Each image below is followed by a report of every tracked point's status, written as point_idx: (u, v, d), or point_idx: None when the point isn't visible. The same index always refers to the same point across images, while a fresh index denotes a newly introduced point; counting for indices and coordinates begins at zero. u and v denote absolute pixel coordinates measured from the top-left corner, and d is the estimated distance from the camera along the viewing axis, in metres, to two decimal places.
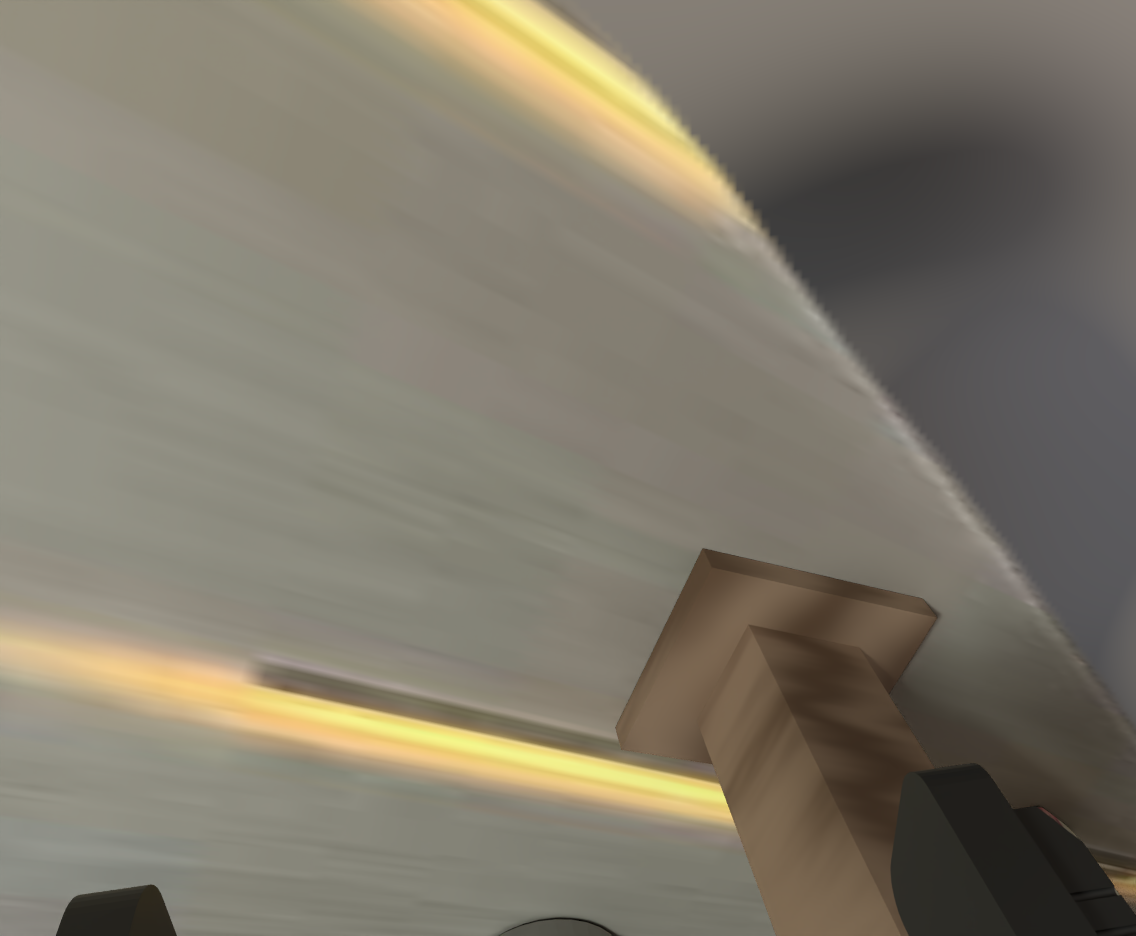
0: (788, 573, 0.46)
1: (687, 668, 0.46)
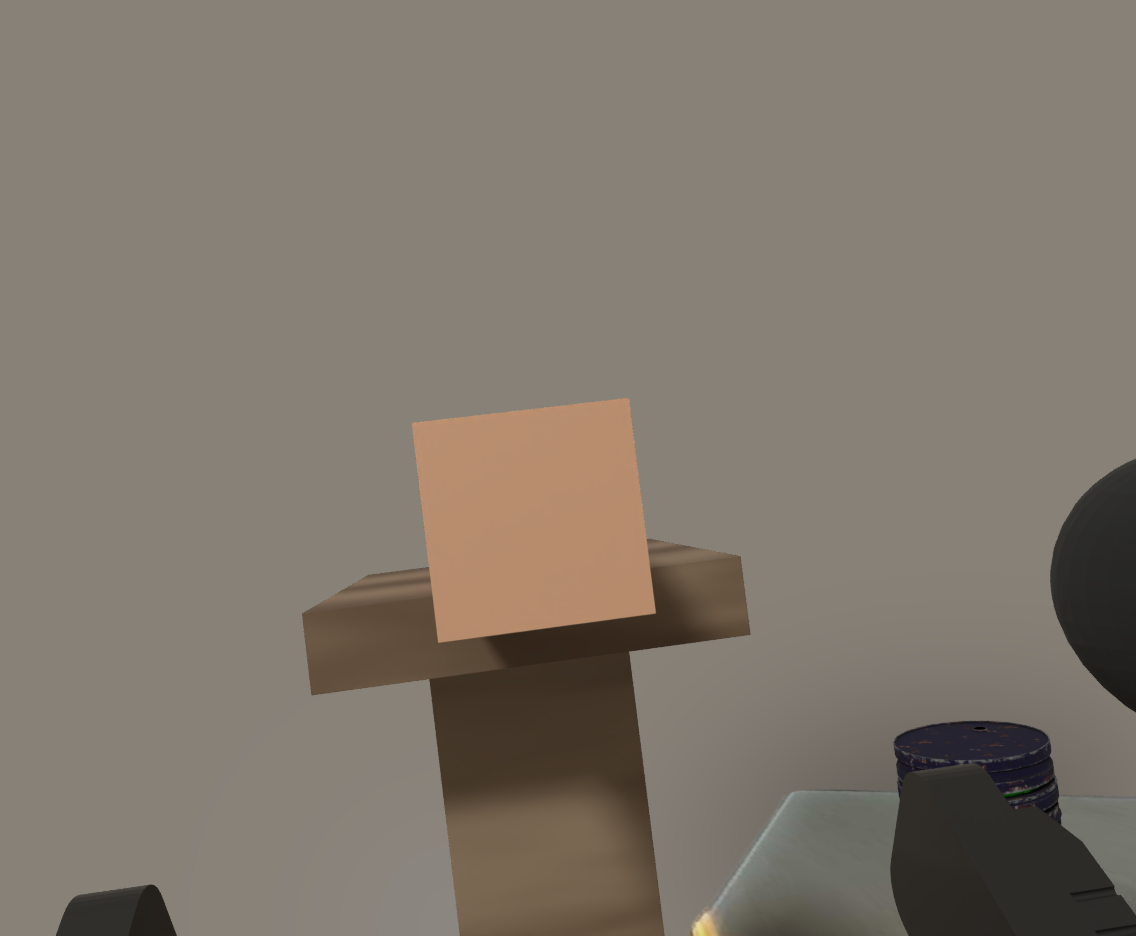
0: None
1: None
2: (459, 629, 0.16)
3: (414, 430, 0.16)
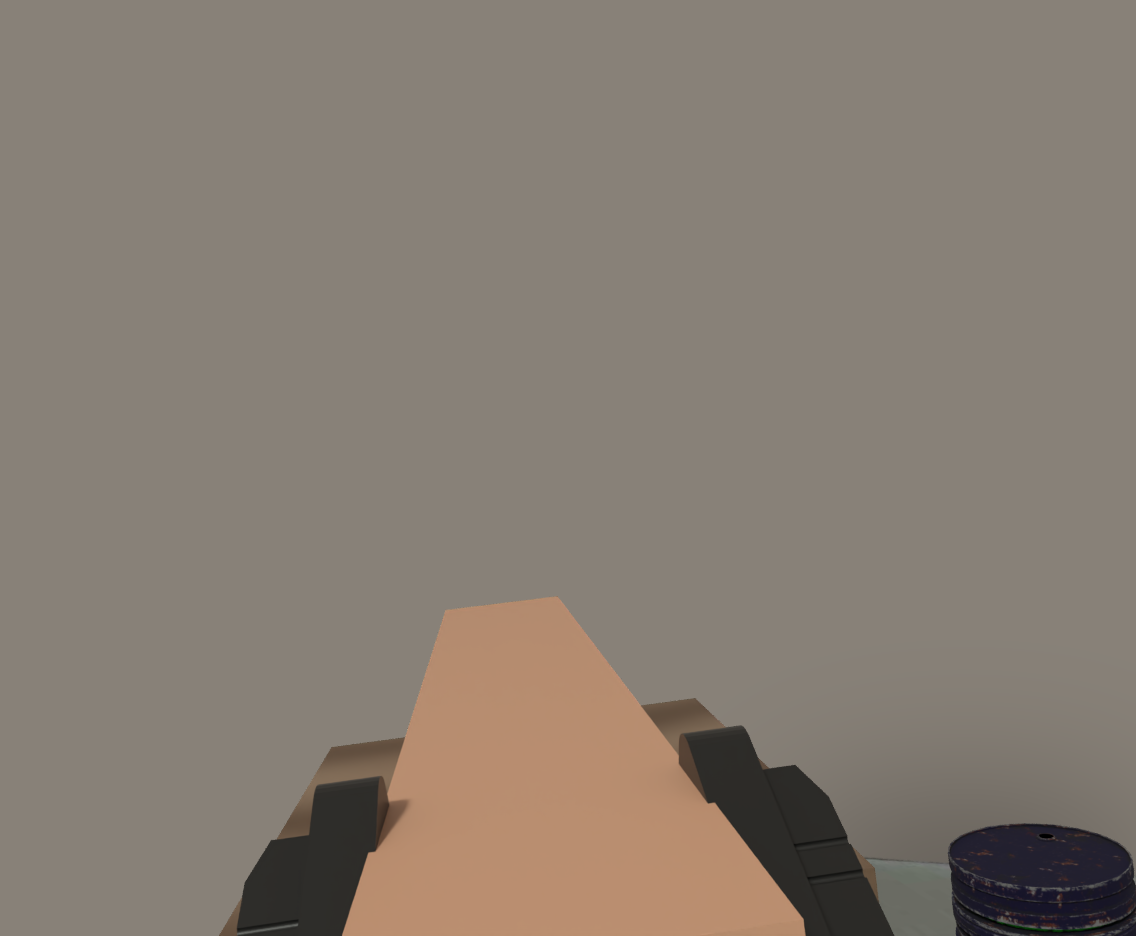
0: None
1: None
2: None
3: None
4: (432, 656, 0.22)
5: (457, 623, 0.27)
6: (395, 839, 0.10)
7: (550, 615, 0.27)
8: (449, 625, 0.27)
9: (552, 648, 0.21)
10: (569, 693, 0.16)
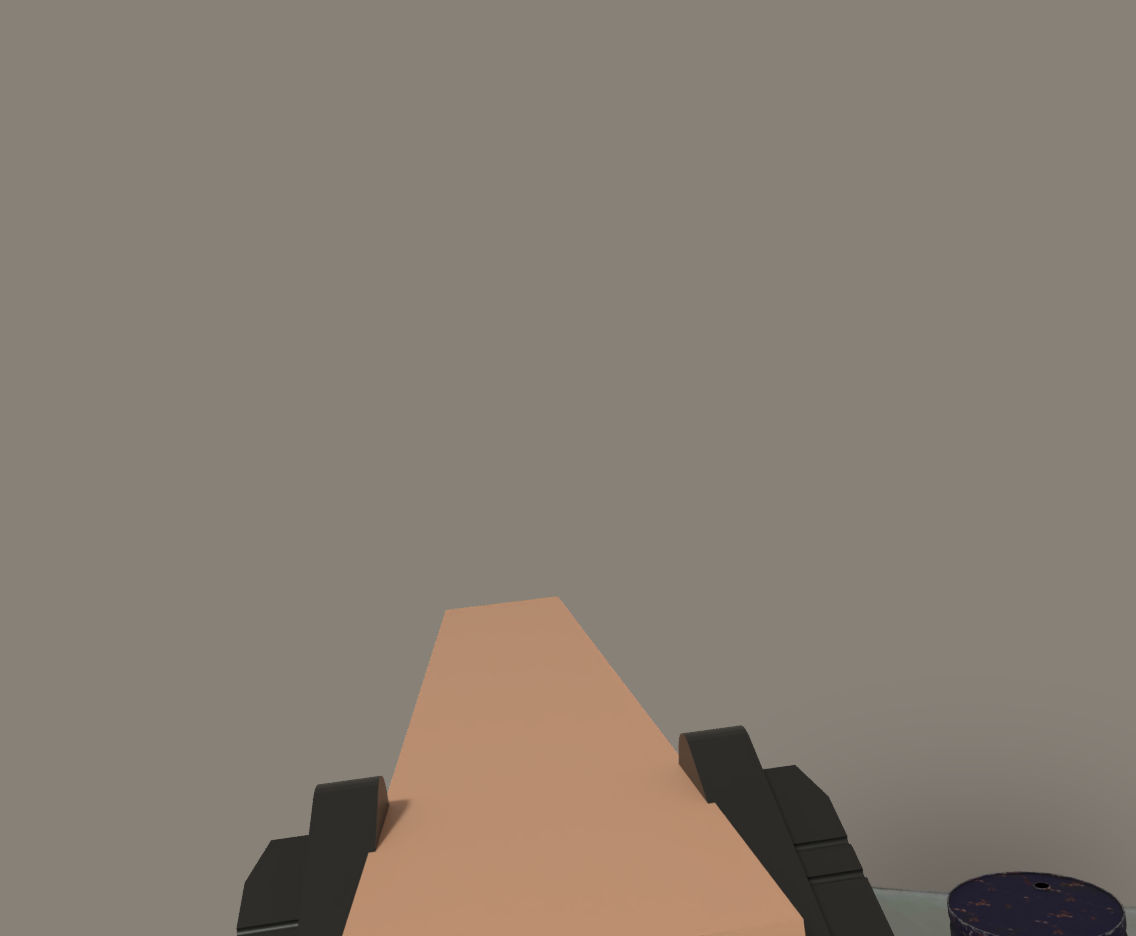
0: None
1: None
2: None
3: None
4: (432, 656, 0.22)
5: (457, 623, 0.27)
6: (397, 839, 0.10)
7: (550, 615, 0.27)
8: (449, 625, 0.27)
9: (552, 648, 0.21)
10: (569, 693, 0.16)
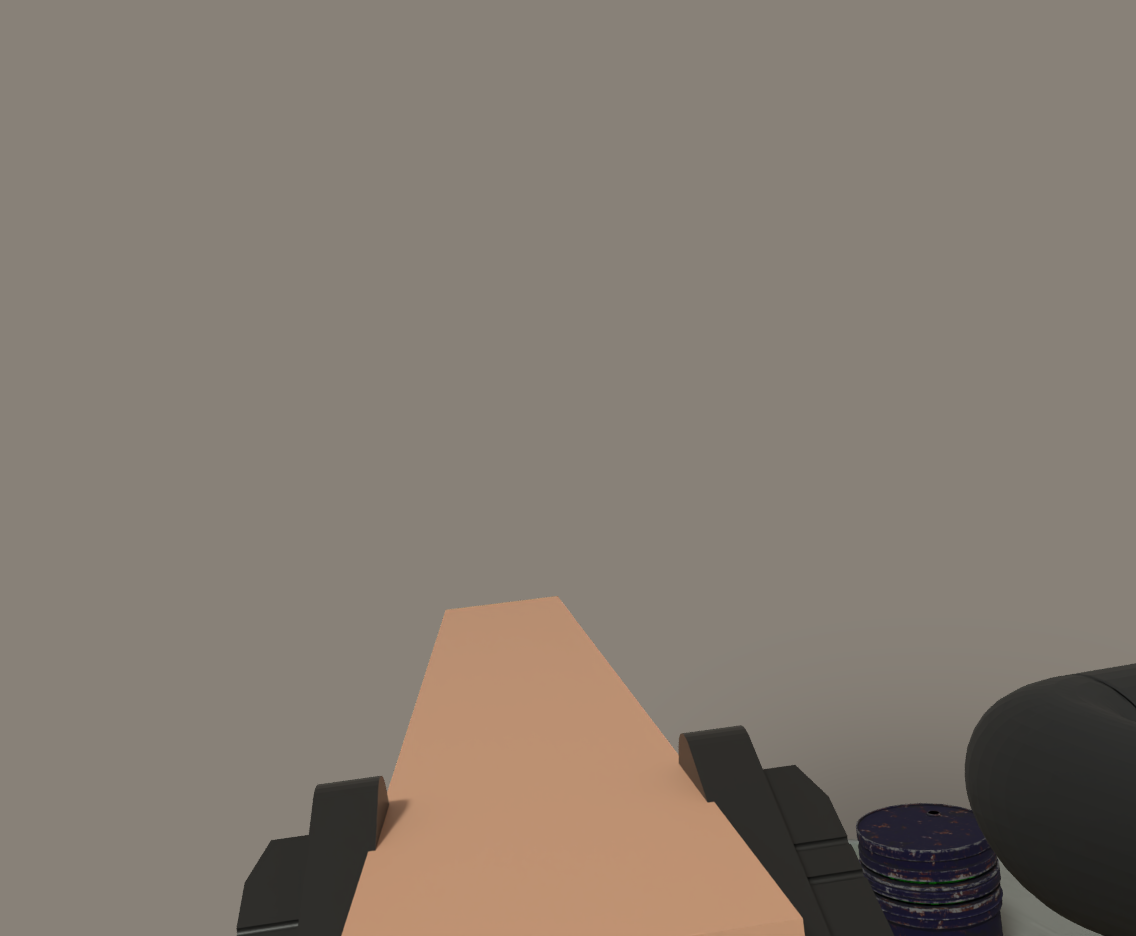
0: None
1: None
2: None
3: None
4: (432, 656, 0.22)
5: (457, 623, 0.27)
6: (396, 839, 0.10)
7: (550, 615, 0.27)
8: (449, 625, 0.27)
9: (552, 648, 0.21)
10: (569, 693, 0.16)
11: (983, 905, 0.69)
